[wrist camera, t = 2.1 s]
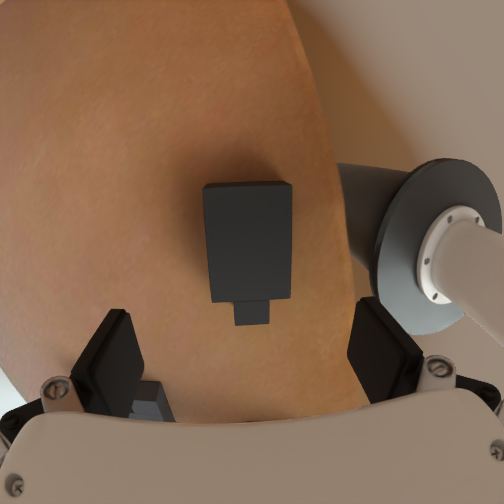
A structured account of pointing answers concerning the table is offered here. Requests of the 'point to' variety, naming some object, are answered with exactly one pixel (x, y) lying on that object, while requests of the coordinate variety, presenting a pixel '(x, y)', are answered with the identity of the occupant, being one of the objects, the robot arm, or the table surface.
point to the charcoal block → (151, 403)
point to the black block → (249, 245)
